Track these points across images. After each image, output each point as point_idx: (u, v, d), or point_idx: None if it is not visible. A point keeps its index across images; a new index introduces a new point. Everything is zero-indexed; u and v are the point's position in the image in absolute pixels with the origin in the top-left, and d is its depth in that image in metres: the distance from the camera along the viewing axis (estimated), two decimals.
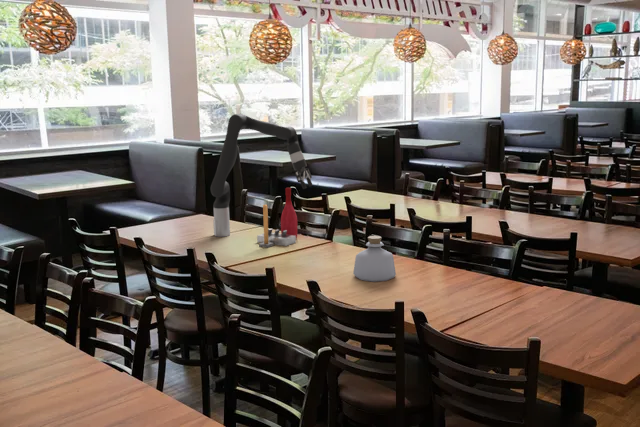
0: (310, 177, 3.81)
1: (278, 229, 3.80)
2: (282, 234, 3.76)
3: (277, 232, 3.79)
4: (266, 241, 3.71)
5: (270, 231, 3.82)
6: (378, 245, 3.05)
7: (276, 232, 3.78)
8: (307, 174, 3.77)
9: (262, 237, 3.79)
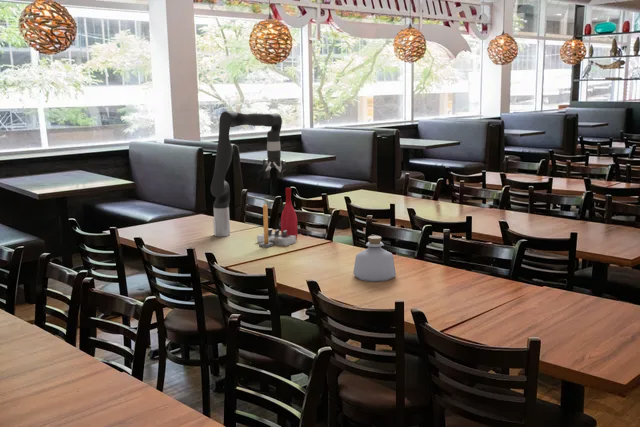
0: (282, 170, 3.69)
1: (278, 229, 3.80)
2: (282, 234, 3.76)
3: (277, 232, 3.79)
4: (266, 241, 3.71)
5: (270, 231, 3.82)
6: (378, 245, 3.05)
7: (276, 232, 3.78)
8: (275, 166, 3.70)
9: (262, 237, 3.79)
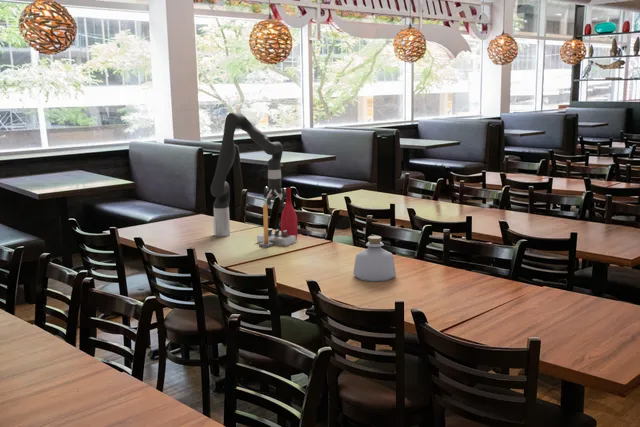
0: (283, 198, 3.72)
1: (278, 229, 3.80)
2: (282, 234, 3.76)
3: (277, 232, 3.79)
4: (266, 241, 3.71)
5: (270, 231, 3.82)
6: (378, 245, 3.05)
7: (276, 232, 3.78)
8: (276, 194, 3.73)
9: (262, 237, 3.79)
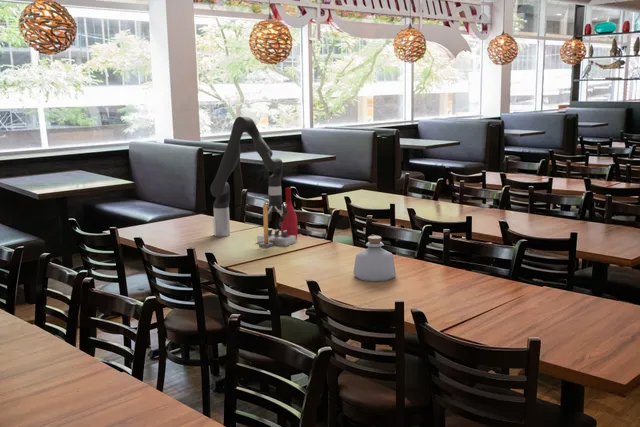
0: (283, 214, 3.74)
1: (278, 229, 3.80)
2: (282, 234, 3.76)
3: (277, 232, 3.79)
4: (266, 241, 3.71)
5: (270, 231, 3.82)
6: (378, 245, 3.05)
7: (276, 232, 3.78)
8: (277, 210, 3.75)
9: (262, 237, 3.79)
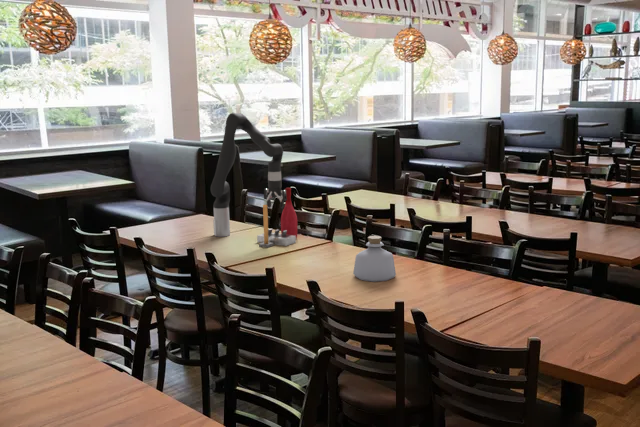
0: (283, 200, 3.72)
1: (278, 229, 3.80)
2: (282, 234, 3.76)
3: (277, 232, 3.79)
4: (266, 241, 3.71)
5: (270, 231, 3.82)
6: (378, 245, 3.05)
7: (276, 232, 3.78)
8: (276, 196, 3.73)
9: (262, 237, 3.79)
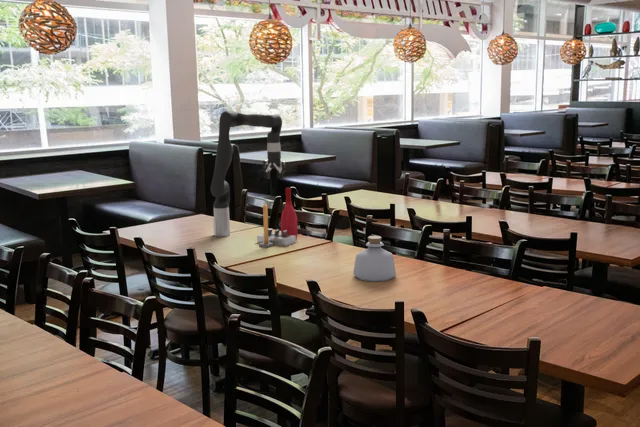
0: (282, 171, 3.69)
1: (278, 229, 3.80)
2: (282, 234, 3.76)
3: (277, 232, 3.79)
4: (266, 241, 3.71)
5: (270, 231, 3.82)
6: (378, 245, 3.05)
7: (276, 232, 3.78)
8: (275, 167, 3.70)
9: (262, 237, 3.79)
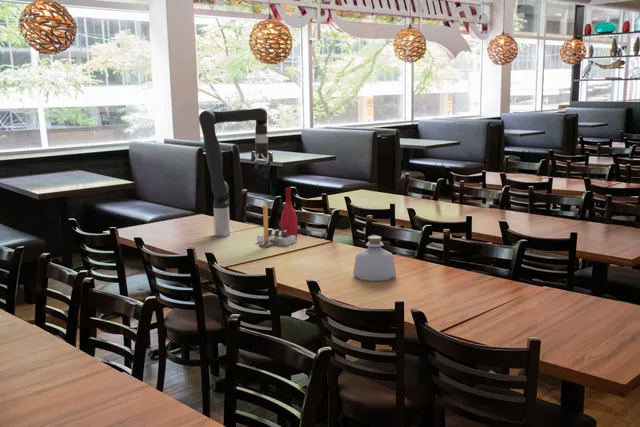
0: (269, 161, 3.89)
1: (278, 229, 3.80)
2: (282, 234, 3.76)
3: (277, 232, 3.79)
4: (266, 241, 3.71)
5: (270, 231, 3.82)
6: (378, 245, 3.05)
7: (276, 232, 3.78)
8: (263, 157, 3.90)
9: (262, 237, 3.79)
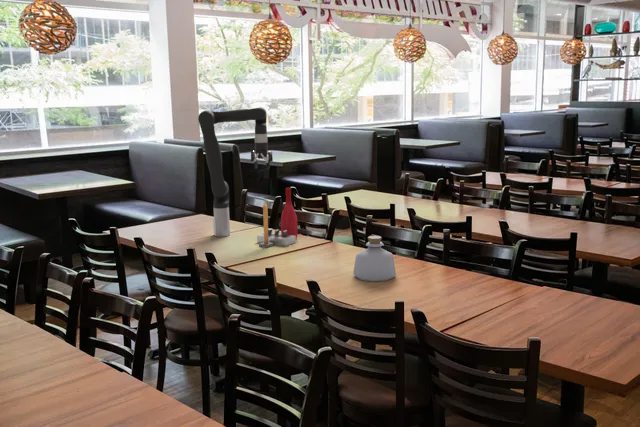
0: (269, 161, 3.89)
1: (278, 229, 3.80)
2: (282, 234, 3.76)
3: (277, 232, 3.79)
4: (266, 241, 3.71)
5: (270, 231, 3.82)
6: (378, 245, 3.05)
7: (276, 232, 3.78)
8: (262, 157, 3.90)
9: (262, 237, 3.79)
